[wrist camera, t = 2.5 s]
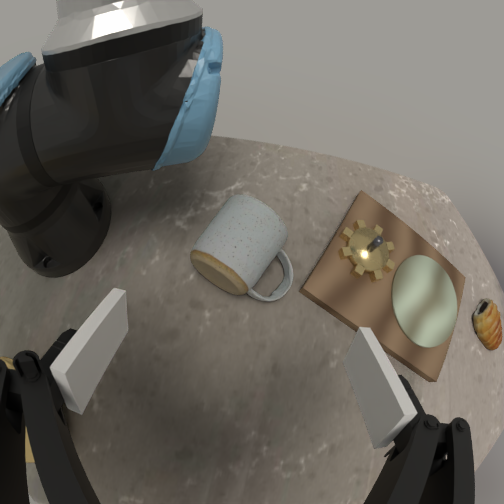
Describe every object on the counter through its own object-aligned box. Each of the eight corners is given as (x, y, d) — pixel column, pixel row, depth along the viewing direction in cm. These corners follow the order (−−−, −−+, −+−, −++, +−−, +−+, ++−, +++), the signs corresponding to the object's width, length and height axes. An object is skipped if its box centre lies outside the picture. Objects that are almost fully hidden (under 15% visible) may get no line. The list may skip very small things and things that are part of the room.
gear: (327, 257, 31) (339, 244, 28) (352, 213, 35) (364, 198, 31) (378, 294, 30) (394, 285, 27) (397, 247, 34) (412, 236, 30)
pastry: (498, 335, 32) (512, 330, 29) (486, 360, 30) (501, 357, 26) (480, 297, 35) (494, 290, 31) (467, 321, 32) (483, 315, 29)
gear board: (299, 291, 31) (304, 286, 29) (356, 195, 38) (362, 188, 36) (429, 382, 28) (438, 381, 26) (459, 280, 35) (467, 276, 33)
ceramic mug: (187, 271, 30) (180, 241, 23) (226, 218, 33) (232, 180, 26) (268, 322, 29) (286, 308, 22) (301, 264, 33) (325, 235, 26)
